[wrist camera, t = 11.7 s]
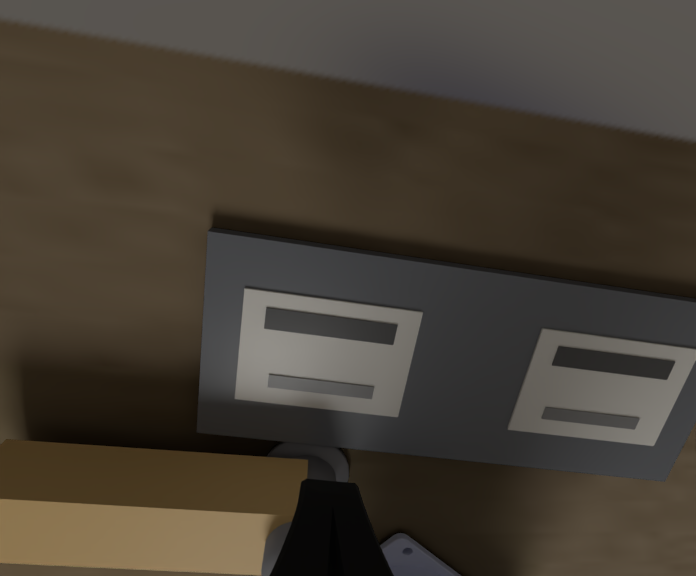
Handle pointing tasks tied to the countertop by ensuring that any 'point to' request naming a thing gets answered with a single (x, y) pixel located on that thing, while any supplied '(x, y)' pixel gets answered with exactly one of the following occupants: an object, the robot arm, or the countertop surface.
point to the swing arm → (147, 507)
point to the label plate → (440, 360)
